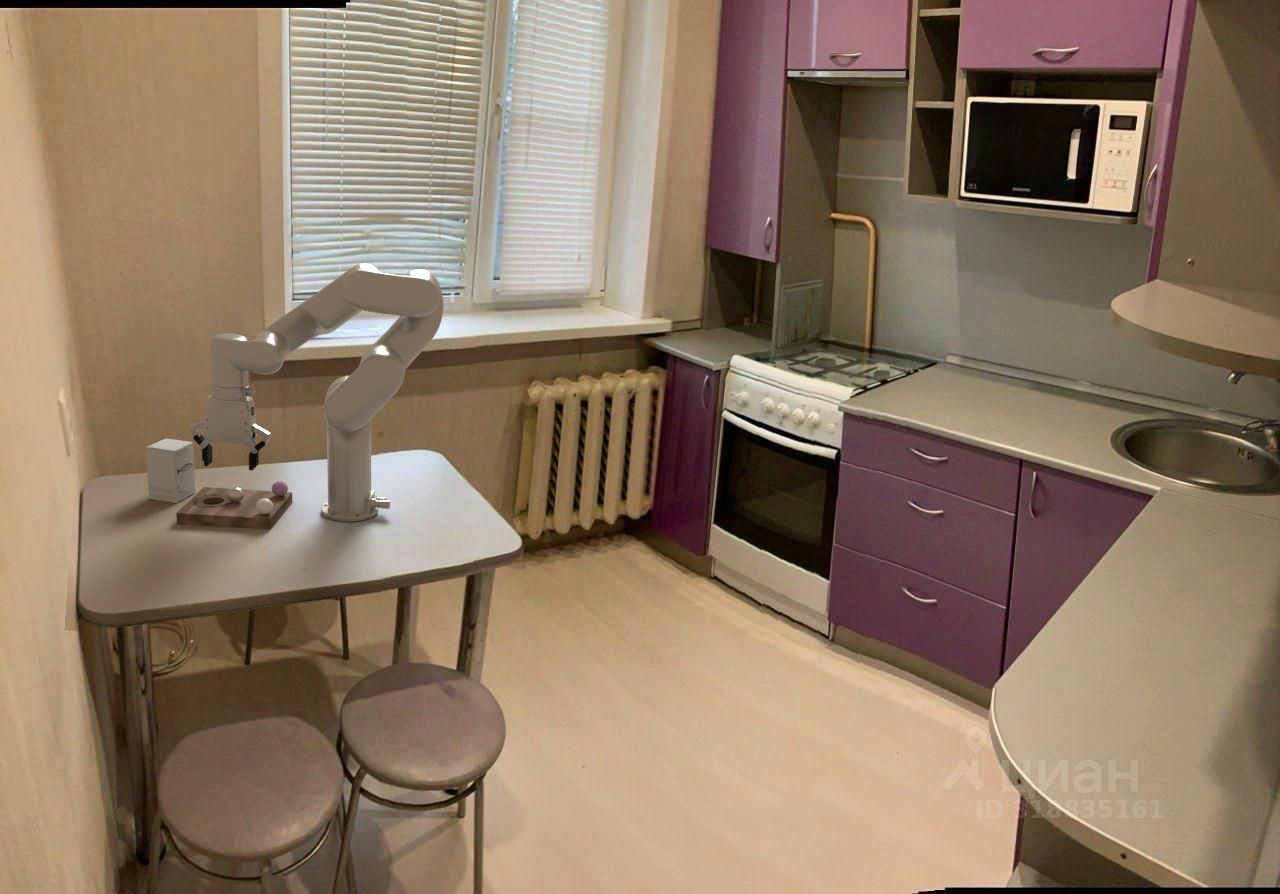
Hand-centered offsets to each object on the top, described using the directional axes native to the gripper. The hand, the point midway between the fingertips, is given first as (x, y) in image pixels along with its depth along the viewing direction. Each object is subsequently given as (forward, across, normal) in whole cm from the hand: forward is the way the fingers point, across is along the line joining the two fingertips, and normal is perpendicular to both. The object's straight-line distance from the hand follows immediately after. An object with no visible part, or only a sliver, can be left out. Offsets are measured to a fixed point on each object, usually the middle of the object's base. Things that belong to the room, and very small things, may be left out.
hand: (230, 466), depth 228 cm
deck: (+11, -1, 0) cm, 11 cm away
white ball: (+6, -9, +5) cm, 12 cm away
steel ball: (+7, -1, 0) cm, 7 cm away
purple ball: (+6, -9, -6) cm, 12 cm away
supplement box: (+12, +16, -8) cm, 21 cm away
